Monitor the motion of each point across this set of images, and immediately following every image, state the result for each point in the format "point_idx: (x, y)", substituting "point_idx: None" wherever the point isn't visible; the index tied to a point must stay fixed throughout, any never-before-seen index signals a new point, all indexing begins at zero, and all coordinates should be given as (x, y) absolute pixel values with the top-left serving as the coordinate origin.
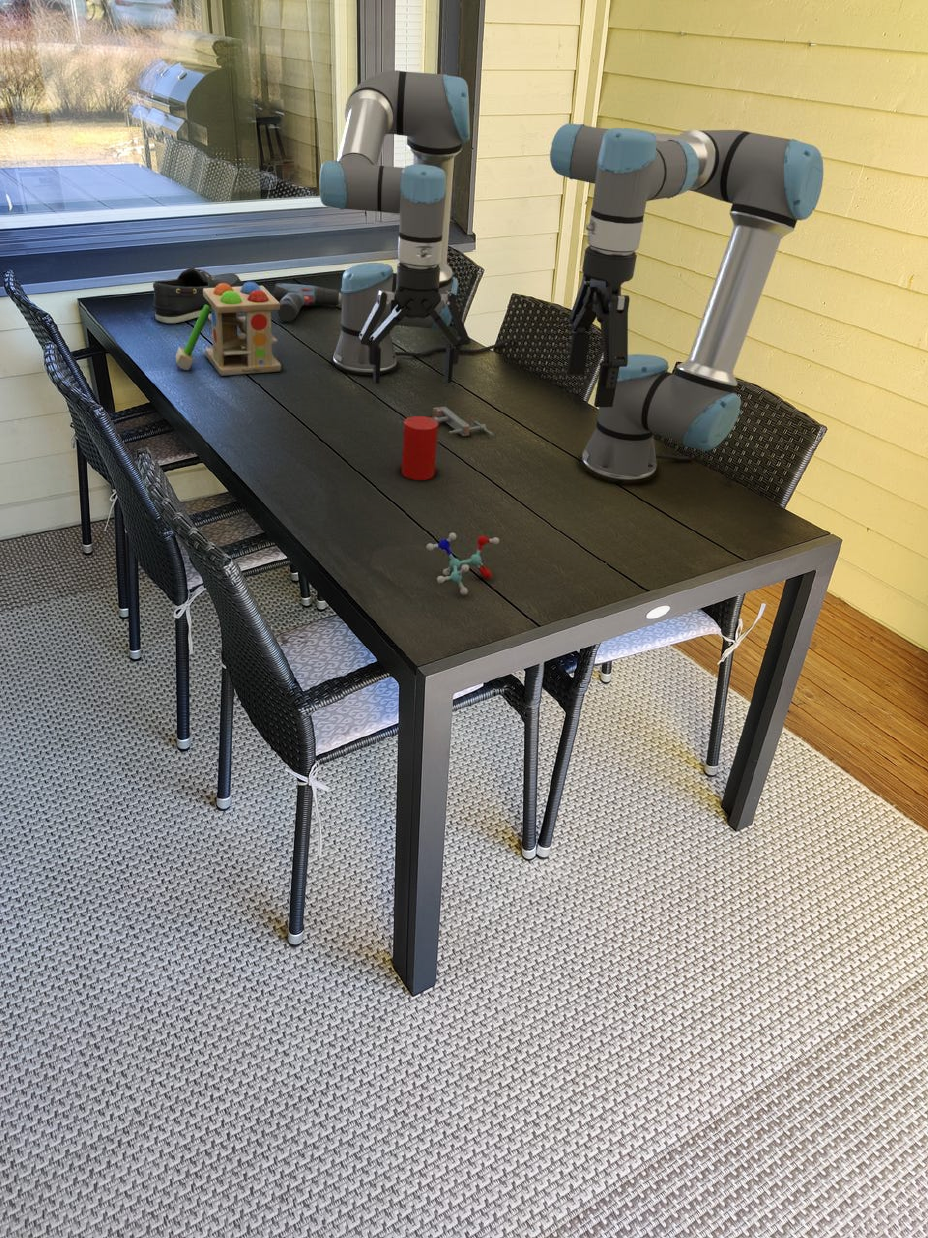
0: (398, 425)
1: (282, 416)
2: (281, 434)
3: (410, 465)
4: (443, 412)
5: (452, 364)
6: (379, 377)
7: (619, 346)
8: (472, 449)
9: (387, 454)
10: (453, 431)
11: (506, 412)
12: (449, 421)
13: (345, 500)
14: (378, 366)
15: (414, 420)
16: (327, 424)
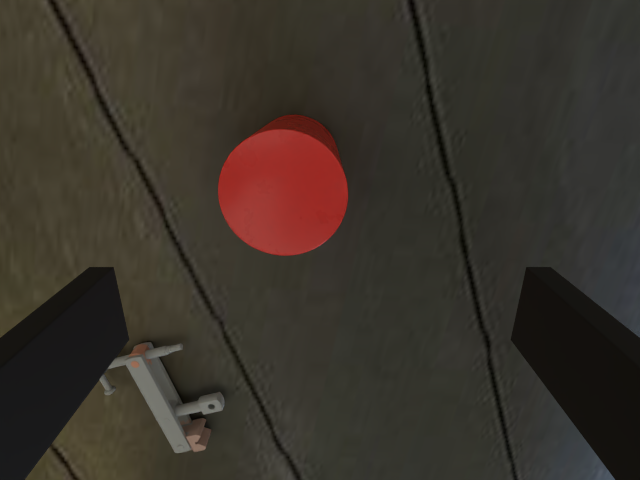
0: (294, 400)
1: (533, 446)
2: None
3: (324, 130)
4: (183, 430)
5: (7, 335)
6: (549, 285)
7: None
8: (134, 278)
9: (351, 265)
10: (170, 347)
11: None
12: (174, 402)
13: (534, 2)
14: (608, 327)
15: (305, 216)
16: (450, 410)
